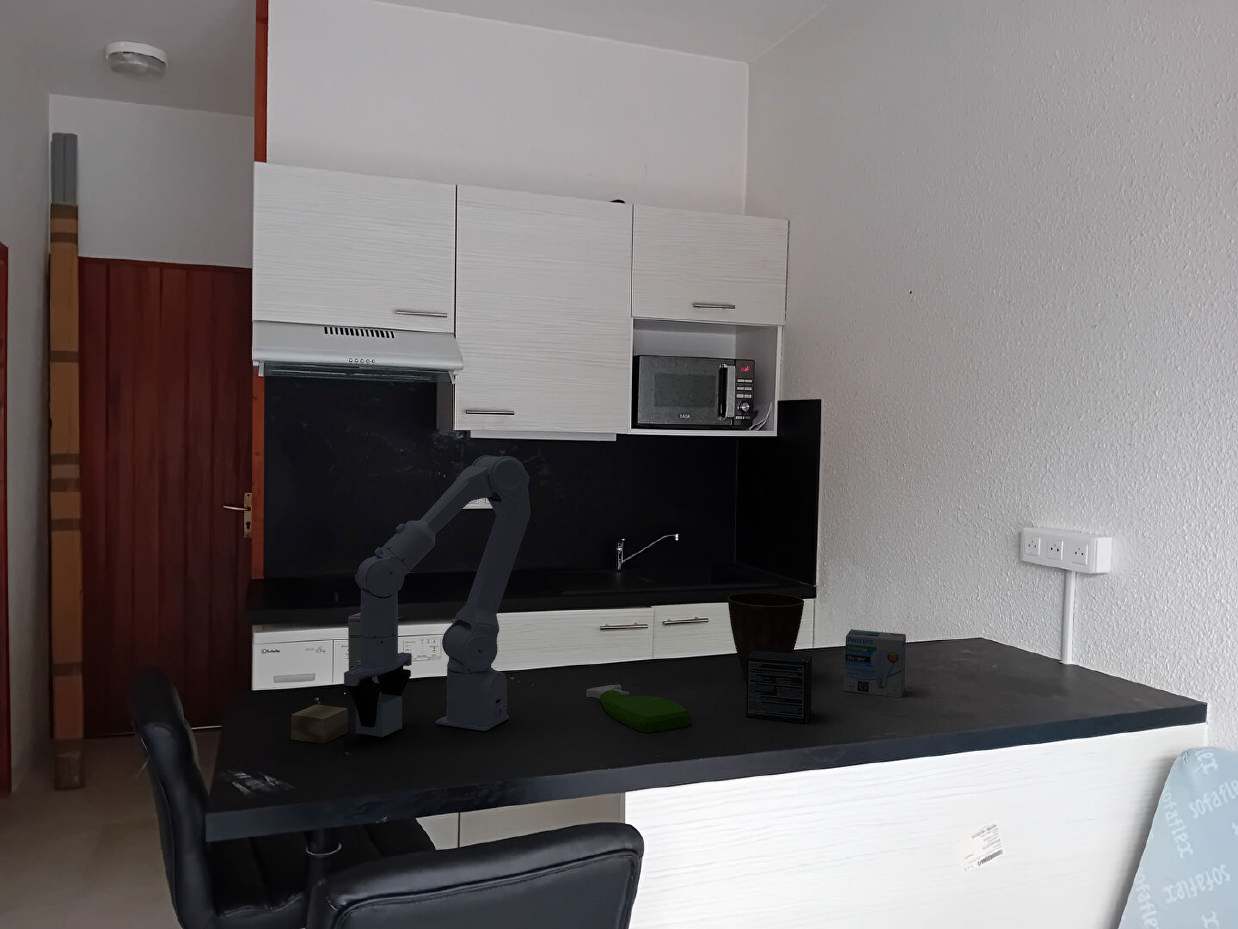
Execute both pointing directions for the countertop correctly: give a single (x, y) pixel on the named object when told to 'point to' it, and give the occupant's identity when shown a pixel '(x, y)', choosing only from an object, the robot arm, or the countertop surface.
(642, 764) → the countertop surface
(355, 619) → the syrup box
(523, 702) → the countertop surface
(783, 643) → the plant pot
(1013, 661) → the countertop surface
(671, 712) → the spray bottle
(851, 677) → the light bulb box
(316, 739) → the oak block
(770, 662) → the small box
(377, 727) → the blue-grey cube
